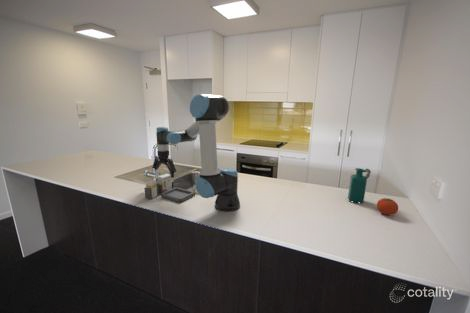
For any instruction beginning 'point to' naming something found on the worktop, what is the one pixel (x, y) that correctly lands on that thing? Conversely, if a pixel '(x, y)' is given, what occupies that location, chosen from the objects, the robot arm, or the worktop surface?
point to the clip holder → (153, 189)
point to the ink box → (165, 182)
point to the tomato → (387, 206)
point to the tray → (178, 195)
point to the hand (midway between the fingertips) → (164, 180)
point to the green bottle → (358, 185)
